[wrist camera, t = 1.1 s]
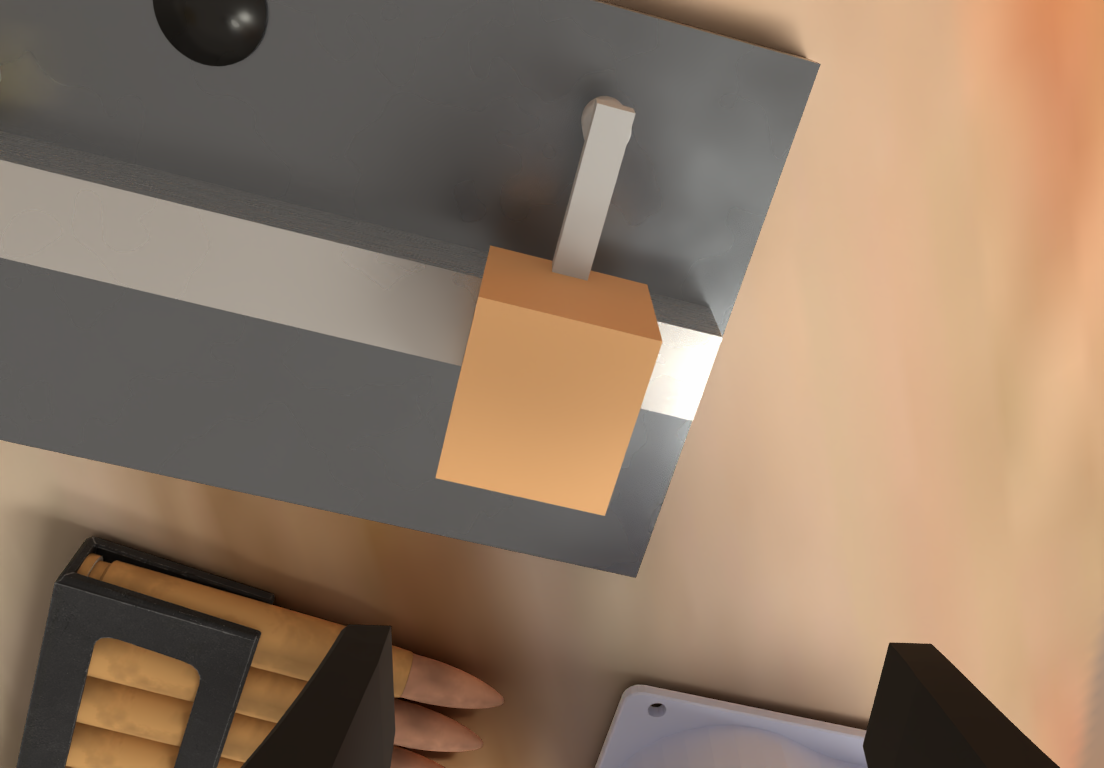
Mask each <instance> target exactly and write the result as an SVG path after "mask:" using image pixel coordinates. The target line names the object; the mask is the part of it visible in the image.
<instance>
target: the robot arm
mask: <svg viewBox="0 0 1104 768" xmlns="http://www.w3.org/2000/svg"><path fill="white" fill-rule="evenodd" d="M654 703H661V704H663V705H661V706H659V707H652V706H650V705H652V704H654ZM394 738H395V708H394V683H393V659H392V634H391V626H378V625H348V626H346V627H345V628H344V629H343V630H341V632H340V633H339V635H338V637H337V638H336V640H335V642H334V643H333V645H332V647H331V648H330V650H329V651H328V653H327V654H326V656H325V657H324V659H323V660H322V662H321V663H320V665H319V666H318V668H317V669H316V671H315V672H314V674H313V675H312V677H311V678H310V679H309V681H308V682H307V684H306V685H305V686H304V688H303V689H302V691H301V692H300V694H299V695H298V696H297V698H296V699H295V700H294V702H293V703H292V704H291V705H290V707H289V708H288V709H287V711H286V712H285V713H284V715H283V716H282V717H281V719H280V720H279V721H278V723H277V724H276V725H275V726H274V728H273V729H272V730H271V732H270V733H269V734H268V735H267V737H266V738H265V739H264V740H263V742H262V743H261V744H260V745H259V746H258V748H257V749H256V750H255V751H254V752H253V753H252V755H251V756H250V757H249V758H248V759H247V760H246V762H245V763H244V764H243V765H242V766H241V767H240V768H390V767H391V760H392V752H393V745H394ZM595 768H1060V767H1059V766H1058V765H1057V764H1055V763H1054V762H1053V761H1052V760H1051V759H1050V758H1049V757H1048V756H1047V755H1046V754H1045V753H1043V752H1042V751H1041V750H1040V749H1039V748H1038V747H1037V746H1036V745H1035V744H1034V743H1033V742H1032V741H1031V740H1030V739H1029V738H1027V737H1026V736H1025V735H1024V734H1023V733H1022V732H1021V731H1020V730H1019V729H1018V728H1017V727H1016V726H1015V725H1014V724H1013V723H1012V722H1011V721H1010V720H1009V719H1008V718H1007V717H1006V716H1005V715H1004V714H1003V713H1002V712H1000V711H999V710H998V709H997V708H996V707H995V706H994V705H993V704H992V703H991V702H990V701H989V700H988V699H987V698H986V697H985V696H984V695H983V694H982V693H981V692H980V691H979V690H978V689H977V688H976V687H975V686H974V685H973V684H972V683H971V682H970V681H969V680H968V679H967V678H966V677H965V676H964V675H963V674H962V673H961V672H960V671H959V670H958V669H957V668H956V667H955V666H954V665H953V664H952V663H951V662H950V661H949V660H948V659H947V658H946V657H945V656H944V655H943V654H941V653H940V652H939V651H938V650H937V649H936V648H935V647H934V646H933V645H932V644H917V643H889V646H888V650H887V654H886V658H885V662H884V666H883V669H882V673H881V677H880V681H879V685H878V689H877V692H876V696H875V700H874V704H873V708H872V711H871V715H870V719H869V723H868V727H867V730H862V729H857V728H852V727H847V726H842V725H838V724H833V723H828V722H823V721H818V720H813V719H808V718H803V717H799V716H794V715H789V714H784V713H779V712H774V711H769V710H764V709H760V708H755V707H750V706H745V705H740V704H735V703H730V702H726V701H721V700H716V699H711V698H706V697H701V696H696V695H691V694H687V693H682V692H677V691H672V690H667V689H662V688H657V687H652V686H648V685H638V684H637V685H634V686H630V687H629V688H627V689H626V690H625V691H624V693H623V694H622V697H621V699H620V702H619V705H618V707H617V710H616V713H615V715H614V718H613V721H612V723H611V726H610V729H609V731H608V734H607V737H606V739H605V742H604V745H603V747H602V750H601V753H600V755H599V758H598V761H597V763H596V766H595Z"/></svg>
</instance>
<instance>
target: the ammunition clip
mask: <svg viewBox="0 0 1104 768" xmlns="http://www.w3.org/2000/svg"><path fill="white" fill-rule="evenodd" d="M274 599H275V595H274V594H272V593H269V592H266V591H262V590H259V589H256V588H253V587H250V586H247V585H244V584H241V583H237V582H234V581H231V580H228V579H225V578H222V577H219V576H216V575H212V574H209V573H206V572H203V571H200V570H197V569H194V568H191V567H187V566H184V565H181V564H178V563H175V562H172V561H169V560H166V559H162V558H159V557H156V556H153V555H150V554H147V553H144V552H141V551H137V550H134V549H131V548H128V547H125V546H122V545H119V544H116V543H112V542H109V541H106V540H103V539H100V538H97V537H94V536H92V537H91V538H88V539H86V540H85V542H84V543H83V544H82V546H81V547H80V549H79V550H78V551H77V553H76V554H75V556H74V557H73V558H72V560H71V561H70V562H69V564H68V565H67V567H66V568H65V569H64V571H63V572H62V573H61V575H60V576H59V578H58V579H57V580H56V582H55V584H54V589H53V594H52V599H51V604H50V609H49V613H48V618H47V623H46V628H45V633H44V637H43V642H42V647H41V652H40V657H39V662H38V666H37V671H36V676H35V681H34V686H33V690H32V695H31V700H30V705H29V710H28V715H27V719H26V724H25V729H24V734H23V739H22V743H21V748H20V753H19V758H18V763H17V767H16V768H240V767H241V766H242V765H243V764H244V763H245V762H246V760H247V759H248V758H249V757H250V756H251V755H252V753H253V752H254V751H255V750H256V749H257V748H258V746H259V745H260V744H261V743H262V742H263V740H264V739H265V738H266V737H267V735H268V734H269V733H270V732H271V730H272V729H273V728H274V726H275V725H276V724H277V723H278V721H279V720H280V719H281V717H282V716H283V715H284V713H285V712H286V711H287V709H288V708H289V707H290V705H291V704H292V703H293V702H294V700H295V699H296V698H297V696H298V695H299V694H300V692H301V691H302V689H303V688H304V686H305V685H306V684H307V682H308V681H309V679H310V678H311V677H312V675H313V674H314V672H315V671H316V669H317V668H318V666H319V665H320V663H321V662H322V660H323V659H324V657H325V656H326V654H327V653H328V651H329V650H330V648H331V647H332V645H333V643H334V642H335V640H336V638H337V637H338V635H339V633H340V632H341V630H343V629H344V628H345V627H346V626H344V625H341V624H337V623H334V622H330V621H327V620H323V619H320V618H317V617H313V616H310V615H306V614H303V613H299V612H296V611H292V610H289V609H285V608H282V607H278V606H275V605H273V602H274ZM392 659H393V683H394V697H396V698H399V697H402V698H406V699H409V700H413V701H417V702H421V703H426V704H431V705H437V706H444V707H452V708H468V709H481V708H491V707H496V706H500V705H502V704H503V702H504V698H503V697H502V696H501V695H500V694H499V693H498V692H497V691H496V690H495V689H493V688H492V687H491V686H489V685H488V684H486V683H485V682H483V681H481V680H480V679H478V678H476V677H474V676H472V675H470V674H469V673H466V672H464V671H462V670H460V669H458V668H455V667H453V666H450V665H448V664H445V663H443V662H440V661H437V660H434V659H431V658H427V657H424V656H421V655H417V654H414V653H413V652H411V651H408V650H405V649H402V648H399V647H396V646H393V645H392ZM396 698H394V708H395V738H394V745H398V746H403V747H407V748H413V749H420V750H428V751H439V752H463V751H471V750H476V749H479V748H481V747H482V746H483V741H482V739H481V738H480V737H478V736H477V735H476V734H475V733H474V732H472V731H471V730H470V729H468V728H467V727H465V726H463V725H462V724H460V723H458V722H456V721H455V720H453V719H451V718H449V717H447V716H445V715H443V714H440V713H438V712H435V711H433V710H430V709H428V708H425V707H422V706H420V705H416V704H413V703H410V702H406V701H403V700H399V699H396ZM394 745H393V752H392V760H391V767H390V768H445V767H443V766H442V765H440V764H438V763H436V762H434V761H432V760H430V759H428V758H426V757H424V756H422V755H419V754H417V753H414V752H412V751H409V750H406V749H404V748H401V747H397V746H394Z"/></svg>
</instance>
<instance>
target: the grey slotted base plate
mask: <svg viewBox="0 0 1104 768" xmlns="http://www.w3.org/2000/svg"><path fill="white" fill-rule="evenodd" d="M819 67H820V64H819V63H817V62H815V61H812V60H810V59H807V58H804V57H800V56H796V55H793V54H789V53H786V52H782V51H779V50H775V49H771V48H768V47H764V46H761V45H757V44H753V43H750V42H746V41H743V40H739V39H736V38H732V37H728V36H725V35H721V34H718V33H714V32H711V31H707V30H703V29H700V28H696V27H693V26H689V25H686V24H682V23H678V22H675V21H671V20H668V19H664V18H661V17H657V16H653V15H650V14H646V13H643V12H639V11H636V10H632V9H628V8H625V7H621V6H618V5H614V4H610V3H607V2H603V1H600V0H0V440H3V441H8V442H13V443H17V444H22V445H26V446H31V447H36V448H40V449H45V450H49V451H54V452H59V453H63V454H68V455H72V456H77V457H82V458H86V459H91V460H95V461H100V462H105V463H109V464H114V465H119V466H123V467H128V468H132V469H137V470H142V471H146V472H151V473H155V474H160V475H165V476H169V477H174V478H178V479H183V480H188V481H192V482H197V483H201V484H206V485H211V486H215V487H220V488H225V489H229V490H234V491H238V492H243V493H248V494H252V495H257V496H261V497H266V498H271V499H275V500H280V501H284V502H289V503H294V504H298V505H303V506H308V507H312V508H317V509H321V510H326V511H331V512H335V513H340V514H344V515H349V516H354V517H358V518H363V519H367V520H372V521H377V522H381V523H386V524H390V525H395V526H400V527H404V528H409V529H414V530H418V531H423V532H427V533H432V534H437V535H441V536H446V537H450V538H455V539H460V540H464V541H469V542H473V543H478V544H483V545H487V546H492V547H496V548H501V549H506V550H510V551H515V552H520V553H524V554H529V555H533V556H538V557H543V558H547V559H552V560H556V561H561V562H566V563H570V564H575V565H579V566H584V567H589V568H593V569H598V570H602V571H607V572H612V573H616V574H621V575H626V576H630V577H635V578H636V576H637V573H638V570H639V567H640V565H641V562H642V559H643V556H644V553H645V551H646V548H647V545H648V542H649V540H650V537H651V534H652V531H653V528H654V526H655V523H656V520H657V517H658V515H659V512H660V509H661V506H662V503H663V501H664V498H665V495H666V492H667V490H668V487H669V484H670V481H671V478H672V476H673V473H674V470H675V467H676V464H677V462H678V459H679V456H680V453H681V451H682V448H683V445H684V442H685V439H686V437H687V434H688V431H689V428H690V426H691V423H692V421H693V419H694V416H695V413H696V410H697V408H698V405H699V402H700V399H701V396H702V394H703V391H704V388H705V385H706V382H707V380H708V377H709V374H710V371H711V369H712V366H713V363H714V360H715V357H716V355H717V352H718V349H719V346H720V344H721V341H722V338H723V334H724V331H725V328H726V325H727V323H728V320H729V317H730V314H731V311H732V309H733V306H734V303H735V300H736V298H737V295H738V292H739V289H740V286H741V284H742V281H743V278H744V275H745V273H746V270H747V267H748V264H749V261H750V259H751V256H752V253H753V250H754V248H755V245H756V242H757V239H758V236H759V234H760V231H761V228H762V225H763V222H764V220H765V217H766V214H767V211H768V209H769V206H770V203H771V200H772V197H773V195H774V192H775V189H776V186H777V184H778V181H779V178H780V175H781V172H782V170H783V167H784V164H785V161H786V158H787V156H788V153H789V150H790V147H791V145H792V142H793V139H794V136H795V133H796V131H797V128H798V125H799V122H800V120H801V117H802V114H803V111H804V108H805V106H806V103H807V100H808V97H809V95H810V92H811V89H812V86H813V83H814V81H815V78H816V75H817V72H818V69H819ZM600 96H609V97H613V98H615V99H617V100H618V101H619V102H620V103H621V104H622V105H623V106H626V107H630V108H633V109H634V111H635V113H636V114H635V117H634V121H633V124H632V128H631V129H632V131H631V137H630V140H629V142H628V143H627V145H626V149H625V152H624V156H623V159H622V162H621V166H620V169H619V173H618V176H617V180H616V183H615V187H614V190H613V194H612V197H611V201H610V204H609V208H608V211H607V215H606V218H605V222H604V225H603V229H602V232H601V236H600V239H599V243H598V246H597V250H596V253H595V257H594V260H593V264H592V267H591V271H595V272H599V273H603V274H607V275H611V276H615V277H619V278H623V279H627V280H631V281H635V282H639V283H643V284H647V285H648V289H649V293H650V297H651V300H652V304H653V308H654V312H655V315H656V319H657V323H658V326H659V330H660V334H661V338H662V341H663V342H662V345H661V348H660V351H659V354H658V357H657V360H656V363H655V366H654V369H653V372H652V375H651V378H650V381H649V384H648V387H647V390H646V393H645V396H644V399H643V402H642V405H641V408H640V411H639V414H638V417H637V420H636V423H635V426H634V429H633V432H632V435H631V438H630V441H629V444H628V447H627V450H626V453H625V457H624V460H623V463H622V466H621V469H620V472H619V475H618V478H617V481H616V484H615V487H614V490H613V493H612V496H611V499H610V502H609V505H608V508H607V511H606V514H605V516H603V515H598V514H594V513H589V512H585V511H580V510H576V509H571V508H567V507H562V506H558V505H554V504H549V503H545V502H540V501H536V500H531V499H527V498H522V497H518V496H513V495H509V494H504V493H500V492H495V491H491V490H486V489H482V488H477V487H473V486H468V485H464V484H459V483H455V482H450V481H446V480H441V479H437V478H436V473H437V469H438V465H439V460H440V456H441V452H442V448H443V443H444V439H445V435H446V430H447V426H448V422H449V417H450V413H451V409H452V404H453V400H454V396H455V392H456V388H457V383H458V379H459V375H460V371H461V366H462V362H463V358H464V354H465V350H466V345H467V341H468V337H469V333H470V329H471V324H472V320H473V316H474V312H475V307H476V303H477V299H478V295H479V291H480V286H481V282H482V278H483V274H484V269H485V265H486V261H487V257H488V253H489V248H490V245H491V246H495V247H499V248H503V249H507V250H511V251H515V252H519V253H523V254H527V255H531V256H535V257H539V258H543V259H547V260H551V261H553V257H554V254H555V250H556V246H557V243H558V239H559V235H560V231H561V228H562V224H563V220H564V216H565V213H566V209H567V205H568V201H569V198H570V194H571V190H572V187H573V183H574V179H575V175H576V172H577V168H578V164H579V160H580V157H581V153H582V149H583V145H584V142H585V140H584V137H583V131H582V124H581V117H582V113H583V110H584V108H585V106H586V105H587V104H588V103H589V102H590V101H591V100H593V99H595V98H597V97H600Z"/></svg>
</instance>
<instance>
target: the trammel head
mask: <svg viewBox="0 0 1104 768" xmlns="http://www.w3.org/2000/svg"><path fill="white" fill-rule="evenodd" d="M635 114H636V113H635V111H634V109H633V108H630V107H626V106H623V105H622V104H621V103H620V102H619V101H618V100H617V99H615V98H613V97H609V96H600V97H597V98H595V99H593V100H591V101H590V102H589V103H588V104H587V105H586V106H585V108H584V110H583V113H582V117H581V124H582V131H583V137H584V140H585V142H584V145H583V149H582V153H581V157H580V160H579V164H578V168H577V172H576V175H575V179H574V183H573V187H572V190H571V194H570V198H569V201H568V205H567V209H566V213H565V216H564V220H563V224H562V228H561V231H560V235H559V239H558V243H557V246H556V250H555V254H554V257H553V261H551V260H547V259H543V258H539V257H535V256H531V255H527V254H523V253H519V252H515V251H511V250H507V249H503V248H499V247H495V246H491V245H490V248H489V253H488V257H487V261H486V265H485V269H484V274H483V278H482V282H481V286H480V291H479V295H478V299H477V303H476V307H475V312H474V316H473V320H472V324H471V329H470V333H469V337H468V341H467V345H466V350H465V354H464V358H463V362H462V366H461V371H460V375H459V379H458V383H457V388H456V392H455V396H454V400H453V404H452V409H451V413H450V417H449V422H448V426H447V430H446V435H445V439H444V443H443V448H442V452H441V456H440V460H439V465H438V469H437V473H436V478H437V479H441V480H446V481H450V482H455V483H459V484H464V485H468V486H473V487H477V488H482V489H486V490H491V491H495V492H500V493H504V494H509V495H513V496H518V497H522V498H527V499H531V500H536V501H540V502H545V503H549V504H554V505H558V506H562V507H567V508H571V509H576V510H580V511H585V512H589V513H594V514H598V515H603V516H605V514H606V511H607V508H608V505H609V502H610V499H611V496H612V493H613V490H614V487H615V484H616V481H617V478H618V475H619V472H620V469H621V466H622V463H623V460H624V457H625V453H626V450H627V447H628V444H629V441H630V438H631V435H632V432H633V429H634V426H635V423H636V420H637V417H638V414H639V411H640V408H641V405H642V402H643V399H644V396H645V393H646V390H647V387H648V384H649V381H650V378H651V375H652V372H653V369H654V366H655V363H656V360H657V357H658V354H659V351H660V348H661V345H662V342H663V341H662V338H661V334H660V330H659V326H658V323H657V319H656V315H655V312H654V308H653V304H652V300H651V297H650V293H649V289H648V285H647V284H643V283H639V282H635V281H631V280H627V279H623V278H619V277H615V276H611V275H607V274H603V273H599V272H595V271H591V267H592V264H593V260H594V257H595V253H596V250H597V246H598V243H599V239H600V236H601V232H602V229H603V225H604V222H605V218H606V215H607V211H608V208H609V204H610V201H611V197H612V194H613V190H614V187H615V183H616V180H617V176H618V173H619V169H620V166H621V162H622V159H623V156H624V152H625V149H626V145H627V143H628V142H629V140H630V137H631V131H632V129H631V128H632V124H633V121H634V117H635Z"/></svg>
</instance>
